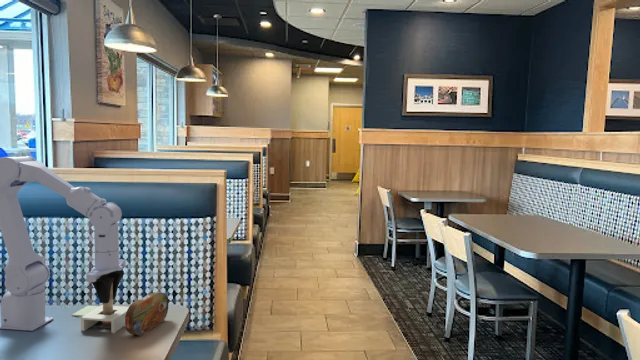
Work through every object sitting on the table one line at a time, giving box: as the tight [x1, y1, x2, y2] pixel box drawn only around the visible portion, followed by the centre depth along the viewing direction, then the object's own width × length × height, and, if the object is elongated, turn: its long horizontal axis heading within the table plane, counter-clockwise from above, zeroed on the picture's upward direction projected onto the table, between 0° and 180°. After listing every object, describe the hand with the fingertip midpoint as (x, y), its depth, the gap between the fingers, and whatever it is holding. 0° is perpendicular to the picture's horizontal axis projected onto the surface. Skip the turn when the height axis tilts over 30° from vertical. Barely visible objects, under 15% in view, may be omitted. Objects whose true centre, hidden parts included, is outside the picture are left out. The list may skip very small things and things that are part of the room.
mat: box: [71, 305, 100, 318], centre depth 126 cm, size 7×7×1 cm
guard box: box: [80, 304, 130, 334], centre depth 118 cm, size 9×9×4 cm
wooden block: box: [102, 282, 114, 315], centre depth 117 cm, size 2×2×10 cm
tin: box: [125, 291, 169, 336], centre depth 116 cm, size 15×3×8 cm, turn 165°
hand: (107, 300), depth 117 cm, fingers closed on wooden block, 2 cm apart
